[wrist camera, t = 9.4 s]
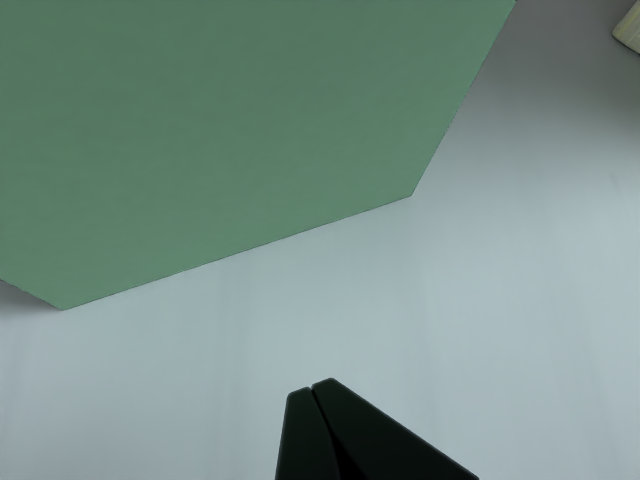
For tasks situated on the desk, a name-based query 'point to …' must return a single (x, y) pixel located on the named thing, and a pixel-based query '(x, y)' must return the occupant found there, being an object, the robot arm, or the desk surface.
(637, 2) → the tall beige block
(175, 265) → the storage box
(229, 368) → the desk surface
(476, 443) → the desk surface
